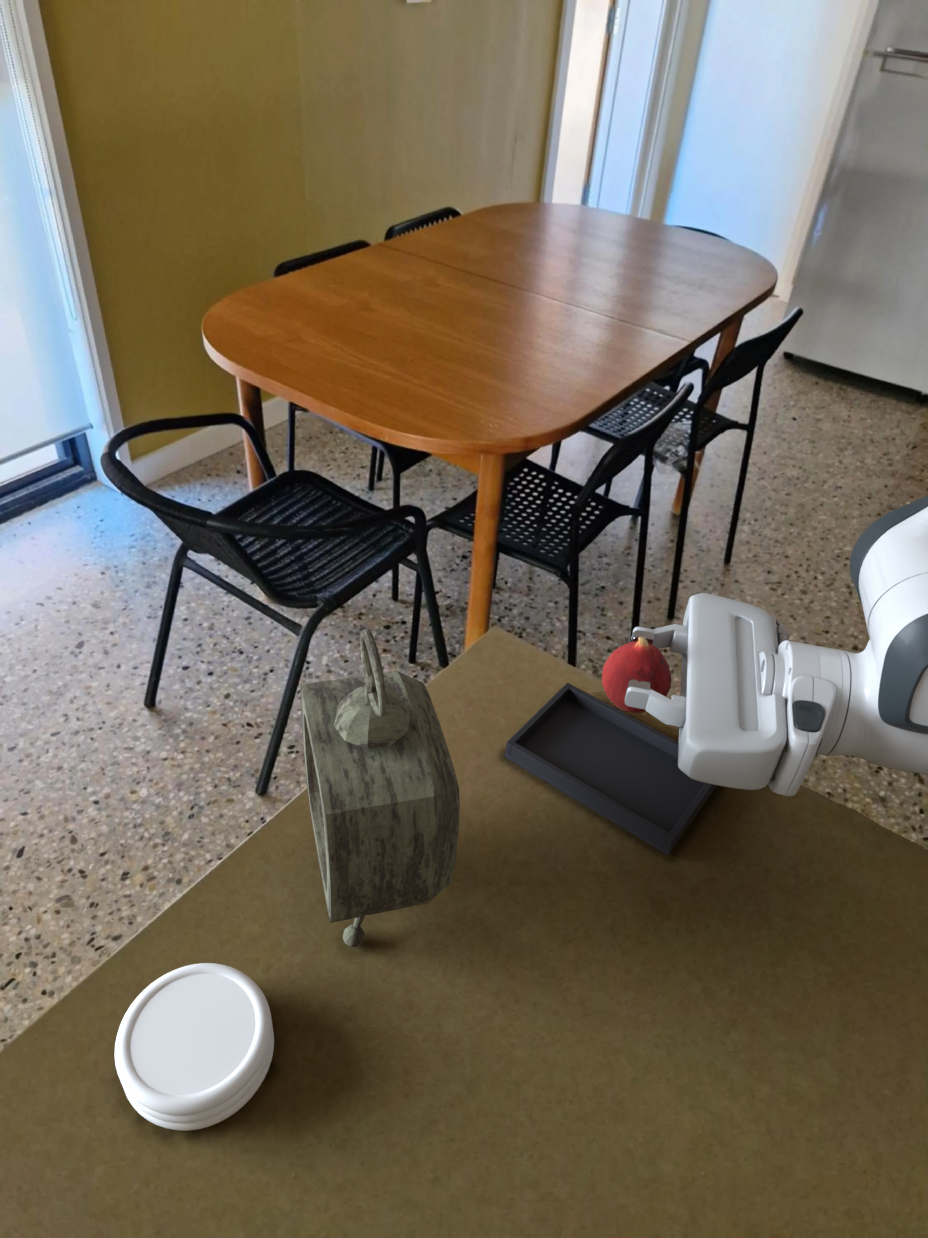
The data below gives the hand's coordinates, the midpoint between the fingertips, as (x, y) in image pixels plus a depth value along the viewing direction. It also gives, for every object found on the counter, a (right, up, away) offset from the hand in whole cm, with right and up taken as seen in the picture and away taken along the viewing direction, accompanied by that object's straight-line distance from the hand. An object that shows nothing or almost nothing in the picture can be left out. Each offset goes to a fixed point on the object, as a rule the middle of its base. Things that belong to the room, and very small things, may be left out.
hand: (628, 664), depth 75 cm
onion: (+1, -4, +3) cm, 5 cm away
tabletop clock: (-21, -17, -3) cm, 28 cm away
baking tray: (0, -10, +8) cm, 13 cm away
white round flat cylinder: (-32, -26, -15) cm, 44 cm away
